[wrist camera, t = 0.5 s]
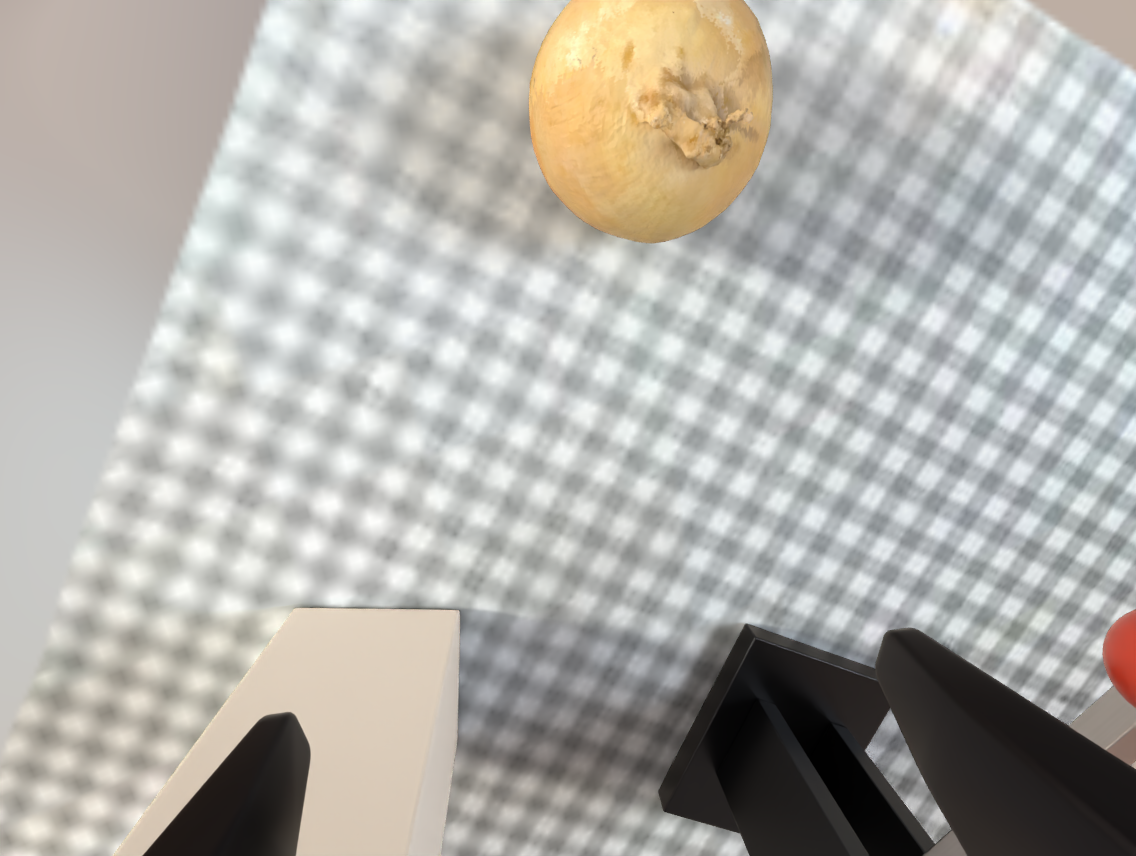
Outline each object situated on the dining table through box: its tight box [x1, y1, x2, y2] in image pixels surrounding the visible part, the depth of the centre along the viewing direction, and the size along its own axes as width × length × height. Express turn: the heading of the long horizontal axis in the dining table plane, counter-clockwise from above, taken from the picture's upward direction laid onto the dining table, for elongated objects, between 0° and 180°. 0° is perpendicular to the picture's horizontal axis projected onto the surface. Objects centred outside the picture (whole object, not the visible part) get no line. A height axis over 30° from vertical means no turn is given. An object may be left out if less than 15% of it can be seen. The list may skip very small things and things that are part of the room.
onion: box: [529, 0, 773, 243], centre depth 18 cm, size 8×8×7 cm
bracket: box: [658, 624, 935, 856], centre depth 23 cm, size 10×8×11 cm
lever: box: [922, 609, 1136, 856], centre depth 17 cm, size 16×3×3 cm, turn 157°
